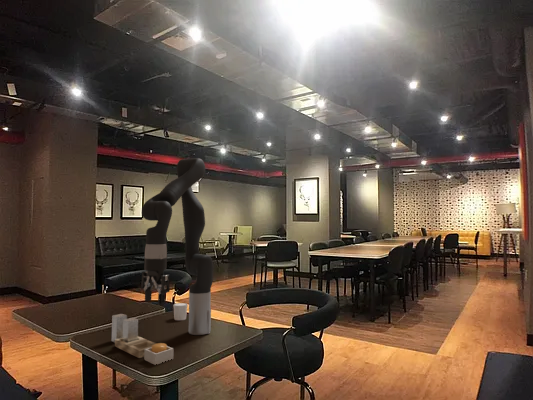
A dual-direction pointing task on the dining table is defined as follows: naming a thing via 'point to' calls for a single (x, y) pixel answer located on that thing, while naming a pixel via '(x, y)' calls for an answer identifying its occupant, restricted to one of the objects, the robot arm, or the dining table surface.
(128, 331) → the seated billet
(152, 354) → the button housing
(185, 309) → the white cup
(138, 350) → the beige compartment tray
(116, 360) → the dining table surface
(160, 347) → the button
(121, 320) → the loose billet
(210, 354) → the dining table surface
